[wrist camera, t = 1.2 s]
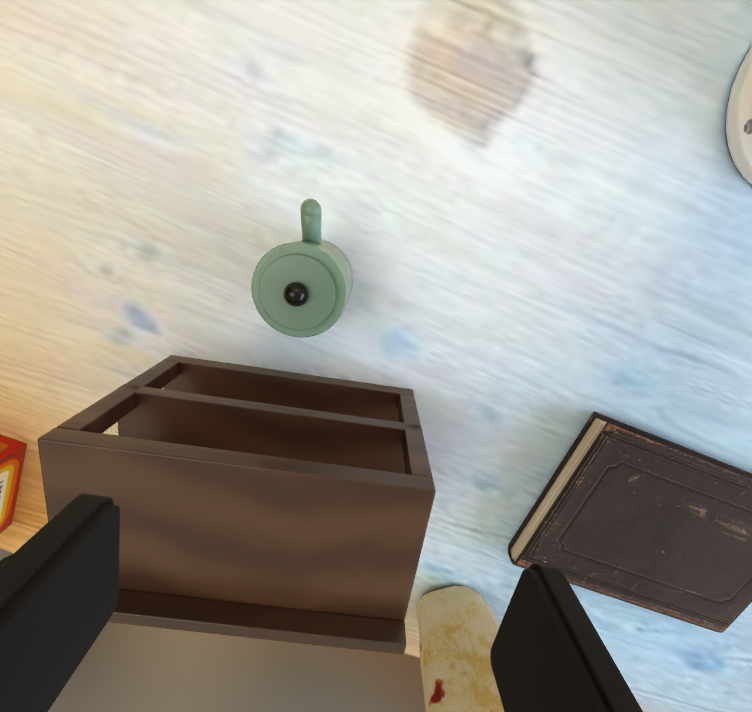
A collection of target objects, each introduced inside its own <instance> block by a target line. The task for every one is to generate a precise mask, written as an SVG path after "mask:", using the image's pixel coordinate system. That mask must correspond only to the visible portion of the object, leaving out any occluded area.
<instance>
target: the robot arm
mask: <svg viewBox="0 0 752 712" xmlns="http://www.w3.org/2000/svg"><path fill="white" fill-rule="evenodd" d="M726 133H727V140H728V147H729V150H730V153H731V156H732V159H733V161H734V164H735V165H736V167H737V168H738V170H739V171H740V173H741V174H742V176H743V177H744V178H745V179H746V180H747V181H748V182H749V183H750V184H751V185H752V46H751V48H750V50H749V52H748V54H747V55H746V57H745V59H744V61H743V63H742V64H741V66H740V68H739V71H738V73H737V76H736V79H735V81H734V84H733V86H732V89H731V94H730V98H729V103H728V108H727V120H726ZM119 547H120V507H119V506H116V505H114V500H113V499H112V498H111V497H106V496H99V495H93V494H86V493H83V494H80V495H78V496H77V497H76V498H75V499H73V500H72V501H71V502H70V503H69V504H68V505H67V506H66V507H65V508H64V509H62V510H61V511H60V512H59V513H58V514H57V515H56V516H55V517H54V518H53V519H51V520H50V521H49V522H48V523H47V524H46V525H45V526H44V527H43V528H42V529H40V530H39V531H38V532H37V533H36V534H35V535H34V536H33V537H32V538H31V539H29V540H28V541H27V542H26V543H25V544H24V545H23V546H22V547H21V548H20V549H18V550H17V551H16V552H15V553H14V554H12V555H10V556H8V557H6V558H4V559H3V560H1V561H0V712H48V710H49V709H50V707H51V706H52V704H53V703H54V701H55V700H56V698H57V697H58V695H59V694H60V692H61V691H62V689H63V688H64V686H65V685H66V683H67V682H68V680H69V679H70V677H71V676H72V674H73V673H74V671H75V670H76V668H77V666H78V665H79V664H80V662H81V661H82V659H83V658H84V656H85V655H86V653H87V652H88V650H89V649H90V647H91V646H92V644H93V643H94V641H95V640H96V638H97V637H98V635H99V634H100V632H101V631H102V629H103V628H104V626H105V625H106V623H107V622H108V620H109V619H110V617H111V616H112V614H113V612H114V610H115V607H116V605H117V602H118V596H119ZM490 660H491V666H492V670H493V674H494V677H495V681H496V684H497V688H498V691H499V695H500V698H501V702H502V705H503V709H504V712H643V711H642V709H641V708H640V706H639V704H638V702H637V701H636V699H635V697H634V696H633V694H632V692H631V690H630V689H629V687H628V685H627V683H626V682H625V680H624V678H623V676H622V675H621V673H620V671H619V669H618V668H617V666H616V664H615V662H614V661H613V659H612V657H611V656H610V654H609V652H608V650H607V649H606V647H605V645H604V643H603V642H602V640H601V638H600V636H599V635H598V633H597V631H596V629H595V628H594V626H593V624H592V623H591V621H590V619H589V617H588V616H587V614H586V612H585V610H584V609H583V607H582V605H581V603H580V602H579V600H578V598H577V596H576V595H575V593H574V591H573V589H572V588H571V586H570V584H569V583H568V581H567V579H566V577H565V576H564V574H563V572H562V571H561V570H560V569H559V568H558V567H554V566H547V565H541V564H532V565H531V566H530V567H529V569H525V570H523V572H522V574H521V577H520V579H519V582H518V584H517V586H516V589H515V591H514V594H513V596H512V598H511V601H510V603H509V606H508V608H507V611H506V613H505V615H504V618H503V620H502V623H501V625H500V628H499V630H498V632H497V635H496V637H495V640H494V642H493V645H492V647H491V652H490Z"/></svg>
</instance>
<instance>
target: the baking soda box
mask: <svg viewBox="0 0 752 712" xmlns="http://www.w3.org/2000/svg"><path fill="white" fill-rule="evenodd" d="M26 445H27V444H25V443H22V442H19V441H16V440H14V439H11V438H8V437H5V436H2V435H0V533H1V532H2V531H4V530H5V529H6V528H7V527H9V526H10V525H11V524H12V518H13V513H14V508H15V503H16V497H17V492H18V487H19V482H20V476H21V471H22V466H23V461H24V456H25V450H26Z"/></svg>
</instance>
